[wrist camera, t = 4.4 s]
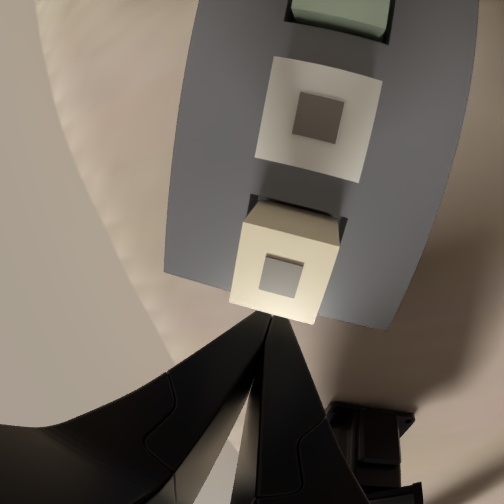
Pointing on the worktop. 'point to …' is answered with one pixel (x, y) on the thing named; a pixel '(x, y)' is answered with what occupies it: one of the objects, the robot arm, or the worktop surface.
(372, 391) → the worktop surface
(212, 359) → the robot arm
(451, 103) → the gray key socket board
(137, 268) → the worktop surface
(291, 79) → the key mid
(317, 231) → the key
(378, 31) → the key
